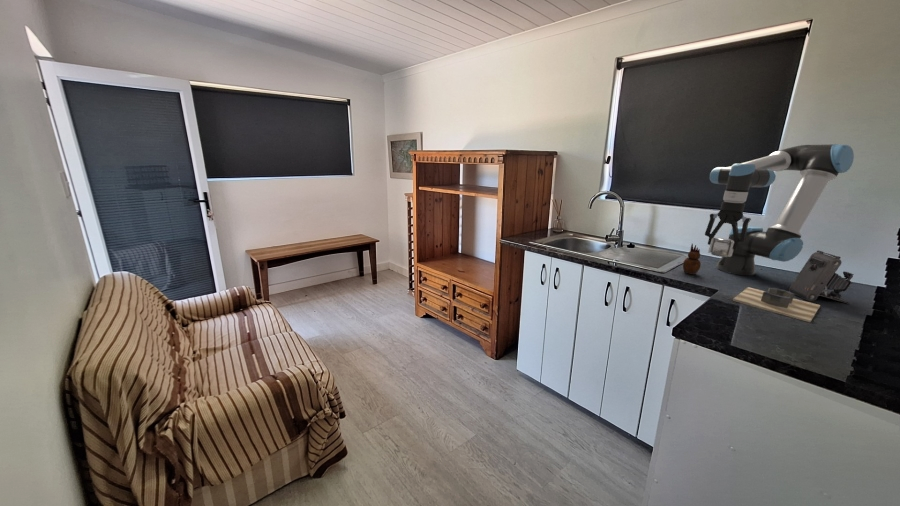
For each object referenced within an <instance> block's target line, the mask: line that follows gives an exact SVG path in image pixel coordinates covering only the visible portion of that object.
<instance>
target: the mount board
mask: <svg viewBox="0 0 900 506" xmlns="http://www.w3.org/2000/svg"><path fill="white" fill-rule="evenodd" d="M763 292H767V291H765V290H761V289H757V288H753V287H749V286H748V287H746V288H745V289H744V290H743V291H741V292H740V293H739V294H738V295H736V296H734V297H733V298H732V301H733V302H737V303H740V304H743V305H747V306H751V307H754V308H757V309H760V310H763V311H768V312H771V313H775V314H779V315H782V316H786V317H789V318H794V319H797V320H800V321H804V322H807V323H811V322H812V320H813V318H814V317H815V316H816V313H817V312H818V310H819V309H820V307H821V304H818V303H817V304H816V303H813V302H811V301H807V300H806V301H804V300H802V299H797V298H794V297H793V300H792V303H789V305H788V308H784V307H778V306H774V305H770V304H767V303H765V302H762V301H761V299H762V295H763Z"/></svg>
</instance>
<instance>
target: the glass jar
mask: <svg viewBox="0 0 900 506" xmlns="http://www.w3.org/2000/svg"><path fill="white" fill-rule="evenodd" d="M731 242H733V240H730V239H729V238H724V237H714V244H713V248H712V252H711V253H710V254H711V255H712V256H715V257H716V256H717V257H721V258H722V257H728V253H729V250H730V246H731Z"/></svg>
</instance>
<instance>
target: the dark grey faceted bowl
mask: <svg viewBox="0 0 900 506" xmlns="http://www.w3.org/2000/svg"><path fill="white" fill-rule="evenodd" d="M795 296H796V295H795V294H794V293H791V292H790V291H789V290H786V289H780V288H778V287H777V288H776V287H769V286H768V287H767V291H766V292H763V295H762V299H761V301H762V302H765V303H767V304H770V305H774V306H778V307H784V308H788V305H789V303H792V300H793V298H794V297H795Z"/></svg>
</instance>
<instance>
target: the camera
mask: <svg viewBox="0 0 900 506" xmlns="http://www.w3.org/2000/svg"><path fill="white" fill-rule="evenodd" d="M842 263H843V261H842V260H841V256H837V255H835V254H831V253H828V252H824V251H823V250H816V252H813V253H812V254H811V255H810V256H809V258H808V260H807V261H806V262H805V264H804V265H803V267H802V268H801V270H800V271H799V273H798V274H797V276H796V277H795V279H794V281H792V283H791V285H790V286H789V287H788V288H789V289H788V291H789V292H791V293H794V294H795V295H794V296H797V297H800V298H802V299H804V300H806V301H807V302H814V301H816V300H817V299H818V297H819V296H821V297H823V298H827V299H831V300H834V301H836V302H837V301H838V302H841V303H845V304H847V305H850V302H848V301H846V300H844V299H841V297H842V295H841V294H840V293H841V292H846V291H847V290H848V289H849V288H851V285H852V284H854V283H853V282H852V281H851V280H852V279H853V276H854V275H855V273H851V272H849V271H843V272H842V273H843V277H842V276H841V275H839V273H837V271H838V269H839V268H840V267H841V265H842ZM827 290H829V293H828V291H827ZM830 290H831V291H830Z"/></svg>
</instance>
